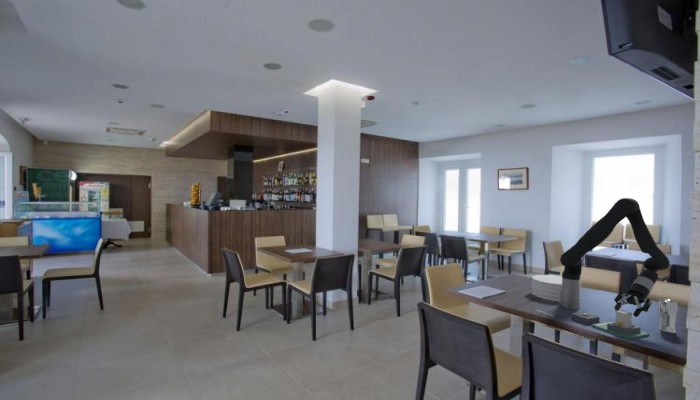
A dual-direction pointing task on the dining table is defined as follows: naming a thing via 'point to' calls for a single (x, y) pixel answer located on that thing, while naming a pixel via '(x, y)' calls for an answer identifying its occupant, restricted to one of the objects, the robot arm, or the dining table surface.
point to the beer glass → (667, 315)
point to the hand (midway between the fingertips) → (625, 312)
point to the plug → (624, 319)
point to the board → (621, 330)
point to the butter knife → (545, 313)
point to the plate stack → (547, 286)
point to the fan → (585, 318)
